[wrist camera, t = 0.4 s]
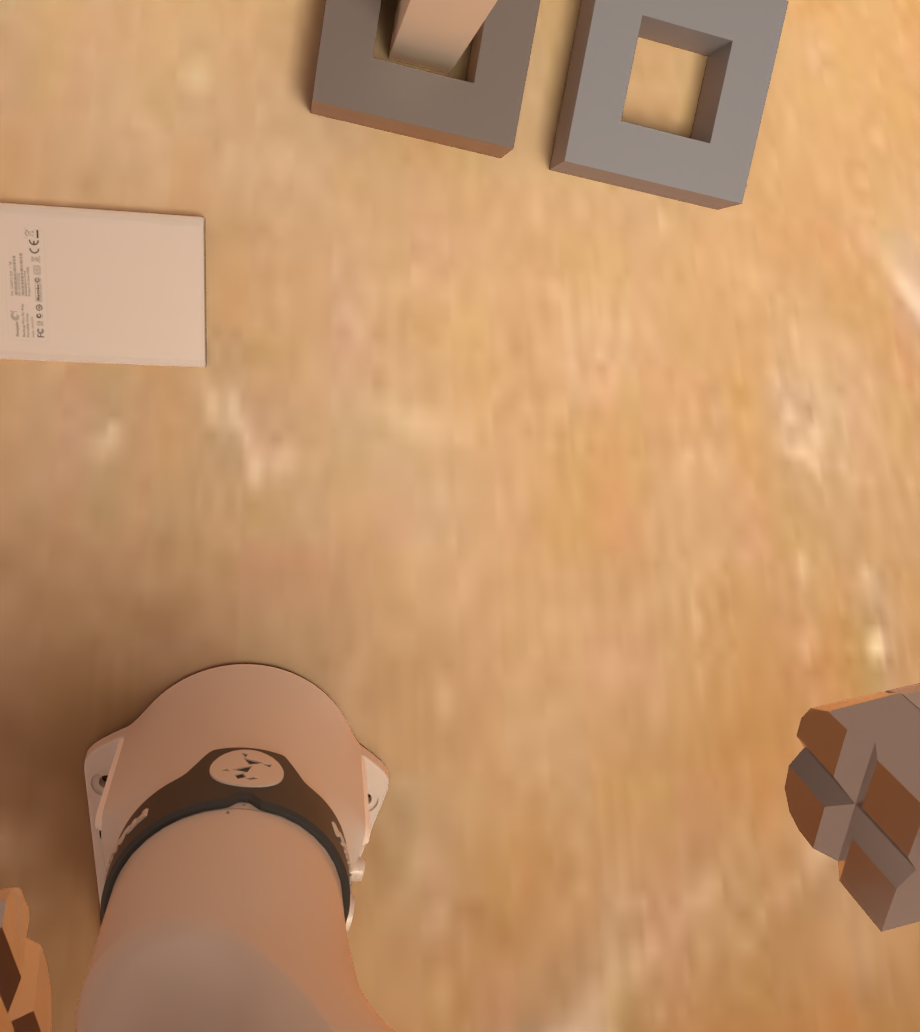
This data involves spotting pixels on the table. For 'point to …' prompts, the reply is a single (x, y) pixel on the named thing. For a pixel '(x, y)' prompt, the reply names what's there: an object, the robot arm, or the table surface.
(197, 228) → the external hard drive
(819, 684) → the table surface
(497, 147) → the socket
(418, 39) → the plug
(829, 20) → the table surface
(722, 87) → the socket
